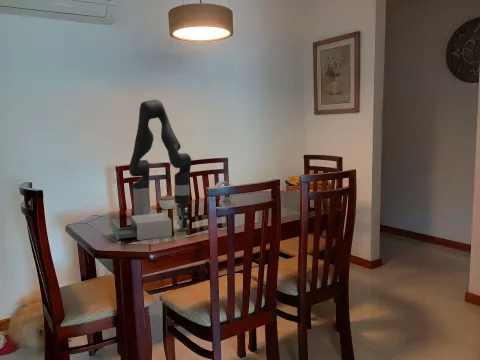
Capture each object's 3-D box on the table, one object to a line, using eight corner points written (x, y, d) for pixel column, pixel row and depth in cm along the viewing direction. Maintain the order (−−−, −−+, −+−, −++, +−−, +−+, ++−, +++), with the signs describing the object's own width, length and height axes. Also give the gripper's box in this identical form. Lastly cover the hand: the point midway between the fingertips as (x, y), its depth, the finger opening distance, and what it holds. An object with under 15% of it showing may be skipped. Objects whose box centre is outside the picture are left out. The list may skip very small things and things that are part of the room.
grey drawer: (112, 231, 199) (111, 219, 198) (144, 227, 205) (143, 216, 204) (116, 239, 183) (116, 226, 182) (151, 235, 189) (150, 223, 188)
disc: (175, 222, 205) (175, 219, 205) (187, 221, 207) (187, 218, 207) (178, 225, 200) (178, 222, 199) (190, 224, 202) (190, 221, 202)
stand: (178, 229, 205) (178, 223, 204) (185, 229, 206) (185, 222, 206) (180, 231, 202) (180, 224, 201) (187, 230, 203) (187, 223, 202)
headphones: (219, 218, 231) (219, 183, 228) (207, 216, 236) (206, 182, 234) (238, 212, 246) (238, 180, 244) (226, 211, 251) (225, 179, 249)
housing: (131, 231, 203) (131, 215, 202) (163, 228, 209) (162, 212, 208) (137, 240, 186) (137, 223, 185) (171, 236, 193) (171, 219, 192)
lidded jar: (157, 208, 262) (156, 194, 261) (172, 206, 267) (172, 192, 266) (162, 211, 253) (161, 196, 252) (178, 209, 258) (178, 195, 257)
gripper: (171, 192, 207) (172, 224, 209) (178, 196, 194) (179, 230, 196) (185, 191, 210) (186, 222, 212) (193, 195, 196) (194, 228, 199)
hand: (183, 226), depth 204 cm, fingers closed on disc, 6 cm apart
